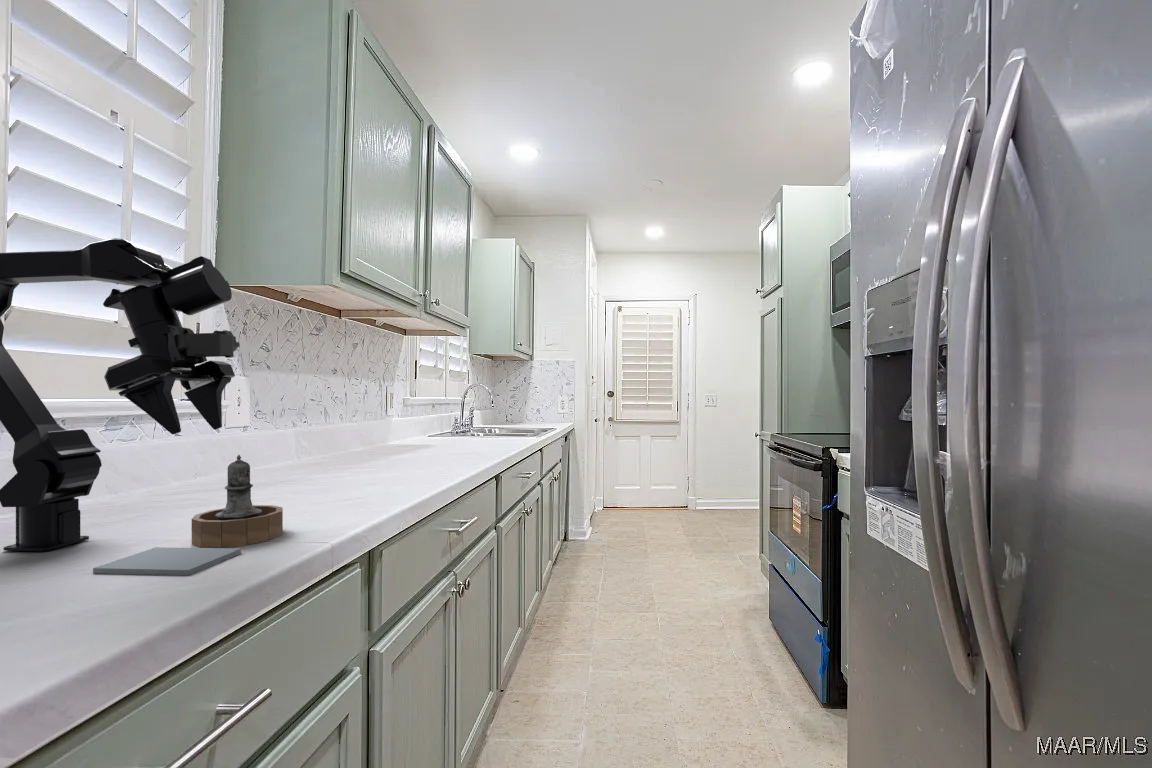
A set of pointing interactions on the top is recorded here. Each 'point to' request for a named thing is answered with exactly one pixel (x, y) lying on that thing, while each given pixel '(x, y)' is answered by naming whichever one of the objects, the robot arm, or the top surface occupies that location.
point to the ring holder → (236, 528)
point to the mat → (168, 561)
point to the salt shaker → (238, 493)
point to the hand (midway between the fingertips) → (198, 430)
